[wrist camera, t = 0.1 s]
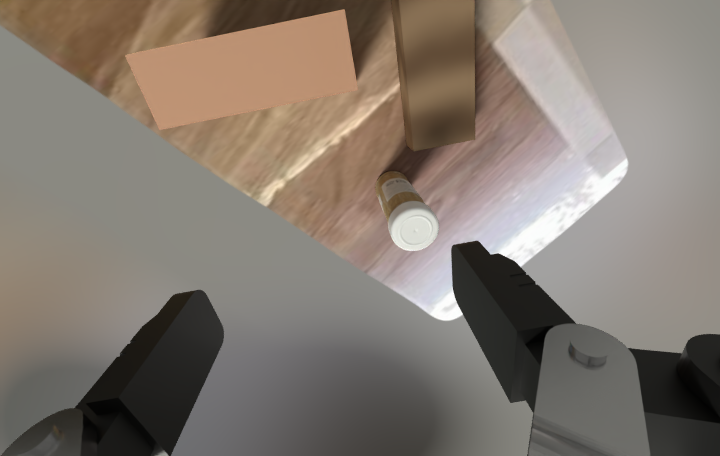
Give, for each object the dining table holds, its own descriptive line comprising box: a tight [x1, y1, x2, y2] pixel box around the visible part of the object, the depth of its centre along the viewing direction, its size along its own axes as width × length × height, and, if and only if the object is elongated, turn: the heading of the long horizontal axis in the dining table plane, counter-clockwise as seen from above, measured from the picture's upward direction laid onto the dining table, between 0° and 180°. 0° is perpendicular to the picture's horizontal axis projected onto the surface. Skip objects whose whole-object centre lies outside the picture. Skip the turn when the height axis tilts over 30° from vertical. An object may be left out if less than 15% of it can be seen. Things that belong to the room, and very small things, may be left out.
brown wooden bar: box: [391, 0, 475, 151], centre depth 31 cm, size 18×7×4 cm, turn 10°
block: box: [125, 9, 358, 130], centre depth 27 cm, size 5×16×12 cm, turn 100°
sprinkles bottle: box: [375, 171, 439, 251], centre depth 33 cm, size 5×5×13 cm
